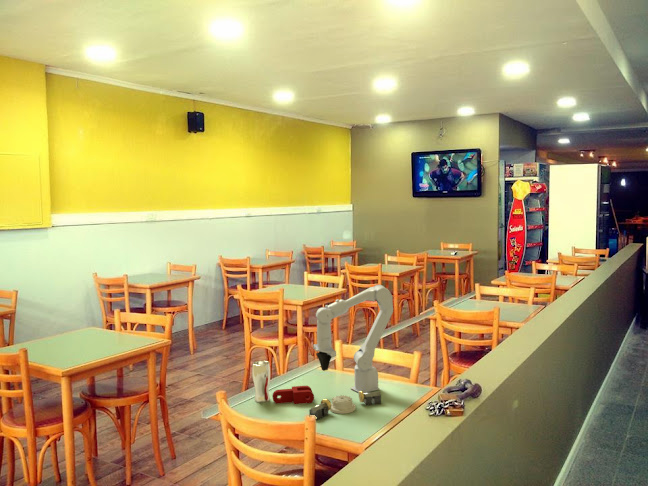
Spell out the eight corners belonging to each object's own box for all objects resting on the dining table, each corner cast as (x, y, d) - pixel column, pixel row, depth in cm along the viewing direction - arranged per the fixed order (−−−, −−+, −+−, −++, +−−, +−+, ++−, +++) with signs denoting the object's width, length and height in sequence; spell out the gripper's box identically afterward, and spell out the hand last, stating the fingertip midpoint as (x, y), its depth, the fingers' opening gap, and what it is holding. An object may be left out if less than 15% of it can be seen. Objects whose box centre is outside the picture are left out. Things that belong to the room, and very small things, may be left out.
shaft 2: (361, 406, 224) (361, 392, 224) (358, 402, 228) (358, 389, 228) (381, 404, 226) (381, 391, 225) (378, 400, 230) (378, 387, 229)
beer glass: (274, 398, 235) (273, 361, 234) (265, 403, 229) (264, 366, 228) (259, 395, 238) (258, 359, 237) (250, 401, 232) (248, 364, 231)
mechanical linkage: (311, 397, 236) (311, 385, 236) (314, 403, 229) (314, 391, 229) (272, 400, 234) (271, 388, 233) (273, 406, 227) (273, 394, 226)
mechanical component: (327, 413, 218) (353, 415, 216) (326, 402, 218) (353, 403, 216) (331, 404, 228) (357, 405, 226) (331, 393, 227) (356, 394, 225)
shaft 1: (322, 411, 220) (322, 397, 220) (331, 413, 217) (331, 400, 217) (308, 417, 214) (308, 403, 213) (317, 420, 211) (317, 406, 211)
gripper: (306, 335, 243) (307, 367, 244) (325, 342, 231) (326, 376, 232) (321, 332, 247) (321, 364, 248) (340, 339, 234) (340, 372, 236)
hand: (324, 369), depth 240 cm, fingers closed
